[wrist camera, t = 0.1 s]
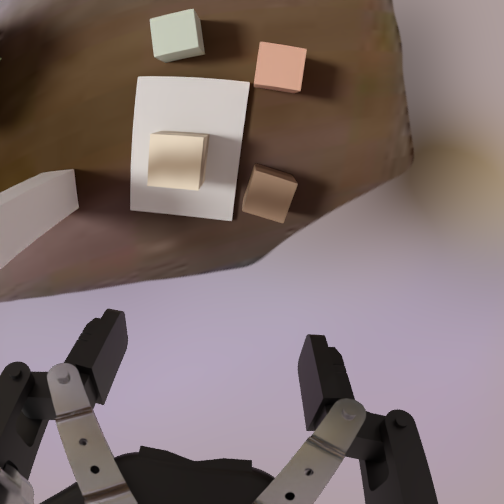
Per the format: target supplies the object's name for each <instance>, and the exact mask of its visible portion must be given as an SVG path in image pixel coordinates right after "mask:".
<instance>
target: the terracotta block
mask: <svg viewBox="0 0 504 504" xmlns="http://www.w3.org/2000/svg"><path fill="white" fill-rule="evenodd" d="M306 50H307V49H303V48H298V47H292V46H286V45H280V44H274V43H267V42H260V46H259V53H258V60H257V66H256V73H255V80H254V87H256V88H263V89H270V90H277V91H283V92H289V93H297V92H299V91H301V84H302V78H303V71H304V64H305V57H306Z"/></svg>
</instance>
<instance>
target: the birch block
mask: <svg viewBox="0 0 504 504" xmlns="http://www.w3.org/2000/svg"><path fill="white" fill-rule="evenodd" d="M209 135H210V134H204V133H192V132H178V131H159V132H155V133H152V134H150V144H149V160H148V182H147V186H154V187H166V188H176V189H187V190H196V191H199V189H200V187H201V186H202V184H203V183H204V181H205V173H206V163H207V153H208V144H209Z"/></svg>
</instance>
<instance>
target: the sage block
mask: <svg viewBox="0 0 504 504" xmlns="http://www.w3.org/2000/svg"><path fill="white" fill-rule="evenodd" d="M150 26H151V35H152V43H153V51H154V57H155V58H157V59H159V60H161V61H163V62H165V63H167V62H171V61H175V60H180V59H184V58H189V57H194V56H199V55H204V54H205V51H204V44H203V37H202V29H201V22H200V19H199V17H198V15H197V14H196V12H195V10H194V9H190V10H185V11H180V12H176V13H172V14H168V15H164V16H160V17H156V18H153V19H150Z"/></svg>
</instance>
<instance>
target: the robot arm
mask: <svg viewBox="0 0 504 504" xmlns="http://www.w3.org/2000/svg"><path fill="white" fill-rule="evenodd" d="M127 344H128V335H127V328H126V321H125V314H124V312H123V311H118V310H112V309H107V310H106V311H105V312H104V314H103V316H102V317H101V319H100V318H94V319H93V320H92V321H90V322H89V323H88V324H87V325H86V327H85V328H84V330H83V332H82V333H81V335H80V336H79V339H78V340H77V341H76V343H75V345H74V347H73V348H72V350H71V352H70V353H69V355H68V357H67V358H66V360H65V362H64V363H60V364H57V365H55V366H53V367H52V368H51V369H50V370H49V372H31V371H30V369H29V367H28V366H27V365H26V364H25V363H23V362H13V363H10V364H9V365H7V366H6V367H5V369H4V370H3V372H2V373H1V375H0V504H34V499H33V497H34V491H33V487H32V485H31V484H30V482H29V481H28V478H29V476H30V473H31V469H32V466H33V463H34V460H35V457H36V454H37V451H38V448H39V445H40V442H41V440H42V437H43V434H44V432H45V429H46V426H47V424H48V421H49V420H56V424H57V428H58V431H59V434H60V437H61V440H62V443H63V446H64V449H65V452H66V455H67V458H68V460H69V463H70V465H71V468H72V471H73V473H74V476H75V478H76V481H77V482H75V483H74V484H72V485H71V486H69V487H68V488H66V489H64V490H63V491H61V492H59V493H57V494H56V495H54V496H52V497H50V498H49V499H47V500H45V501H43V502H42V503H40V504H313V503H314V502H315V501H316V499H317V498H318V496H319V495H320V494H321V492H322V491H323V489H324V488H325V486H326V485H327V483H328V482H329V481H330V479H331V478H332V476H333V475H334V473H335V472H336V470H337V469H338V467H339V465H340V464H341V462H342V461H343V459H344V457H345V456H346V457H351V458H356V459H359V462H360V469H361V475H362V481H363V489H364V496H365V503H366V504H438V501H437V497H436V493H435V489H434V485H433V481H432V477H431V474H430V470H429V466H428V463H427V460H426V456H425V453H424V449H423V446H422V443H421V440H420V436H419V433H418V430H417V427H416V424H415V421H414V419H413V417H412V416H411V415H410V414H409V413H407V412H405V411H403V410H392V411H390V412H389V413H388V414H387V415H386V416H383V415H378V414H373V413H369V412H367V411H366V410H365V408H364V407H363V405H362V404H361V403H359V402H358V401H356V400H355V398H354V395H353V392H352V389H351V385H350V382H349V378H348V375H347V373H346V368H345V366H344V362H343V359H342V356H341V354H340V353H339V352H338V351H337V349H336V348H335V347H328V344H327V341H326V338H325V336H324V335H310V334H308V335H307V336H306V339H305V342H304V345H303V348H302V351H301V354H300V357H299V361H298V375H299V382H300V388H301V395H302V402H303V409H304V416H305V423H306V430H307V431H315V432H314V433H313V434H312V436H311V437H309V438H308V439H307V440H306V442H305V443H304V444H303V445H302V447H301V448H300V449H299V450H298V451H297V453H296V454H295V455H294V456H293V458H292V459H291V460H290V461H289V463H288V464H287V465H286V466H285V467H284V468H283V470H282V471H281V472H280V473H279V474H278V475H277V477H276V478H274V477H273V476H272V475H270V474H268V473H266V472H264V471H262V470H260V469H257V468H254V467H252V460H238V459H226V458H223V459H214V460H205V461H192V460H189V459H187V458H184V457H181V456H179V455H176V454H174V453H171V452H169V451H166V450H160V449H155V448H150V447H145V446H140V451H139V452H133V453H127V454H123V455H120V456H117V457H115V458H114V456H113V454H112V452H111V450H110V448H109V446H108V443H107V441H106V439H105V437H104V435H103V432H102V430H101V428H100V426H99V423H98V421H97V418H96V416H95V413H94V411H93V408H94V406H95V403H98V404H102V405H104V404H105V401H106V398H107V396H108V393H109V391H110V388H111V386H112V383H113V381H114V378H115V376H116V373H117V371H118V368H119V366H120V364H121V361H122V359H123V356H124V354H125V352H126V349H127Z"/></svg>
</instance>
